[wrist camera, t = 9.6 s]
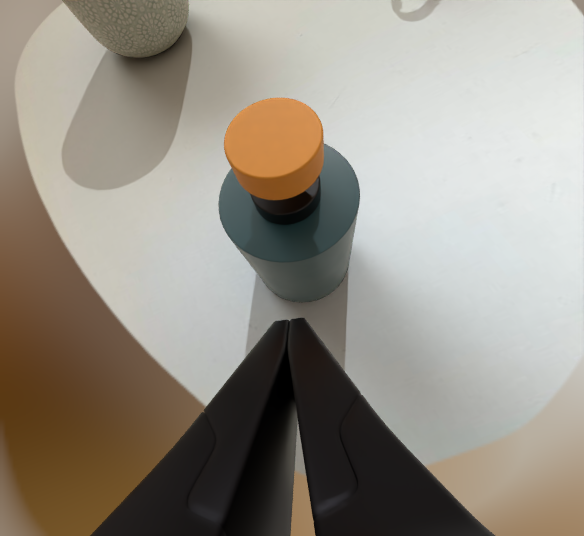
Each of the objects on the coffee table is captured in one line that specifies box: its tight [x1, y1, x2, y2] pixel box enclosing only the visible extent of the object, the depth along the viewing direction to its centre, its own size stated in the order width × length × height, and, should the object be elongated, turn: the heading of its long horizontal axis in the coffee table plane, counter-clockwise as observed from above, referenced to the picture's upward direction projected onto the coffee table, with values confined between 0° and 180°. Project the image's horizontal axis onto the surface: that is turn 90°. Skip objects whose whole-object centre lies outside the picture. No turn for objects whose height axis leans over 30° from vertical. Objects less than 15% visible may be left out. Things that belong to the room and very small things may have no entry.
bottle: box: [219, 143, 360, 302], centre depth 19 cm, size 7×7×10 cm
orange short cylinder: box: [224, 98, 324, 200], centre depth 12 cm, size 4×4×2 cm
